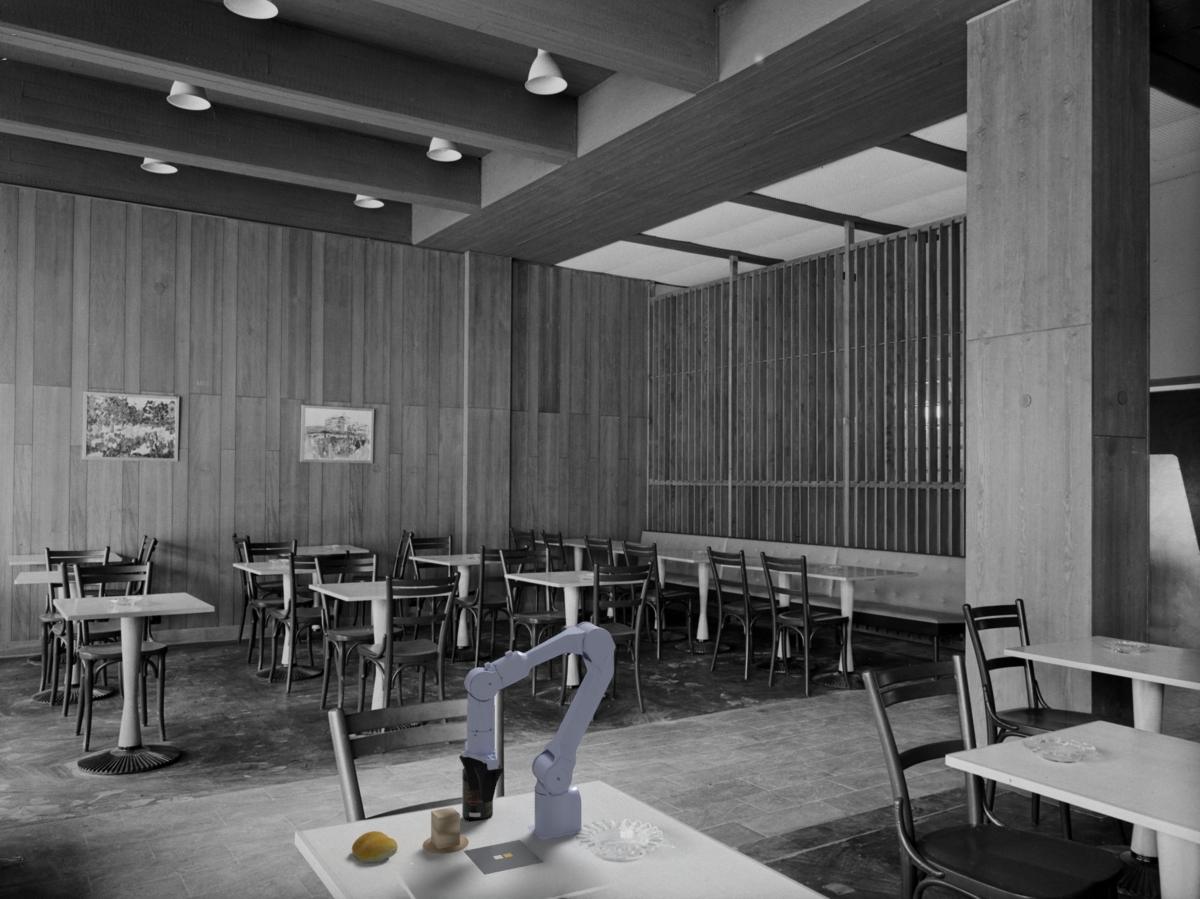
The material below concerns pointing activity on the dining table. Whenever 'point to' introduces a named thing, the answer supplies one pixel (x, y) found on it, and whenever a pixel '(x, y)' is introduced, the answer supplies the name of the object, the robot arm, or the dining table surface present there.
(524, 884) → the dining table surface
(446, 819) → the maple block
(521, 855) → the tile
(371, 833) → the bread roll
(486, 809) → the supplement container
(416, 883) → the dining table surface
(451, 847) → the cork coaster
